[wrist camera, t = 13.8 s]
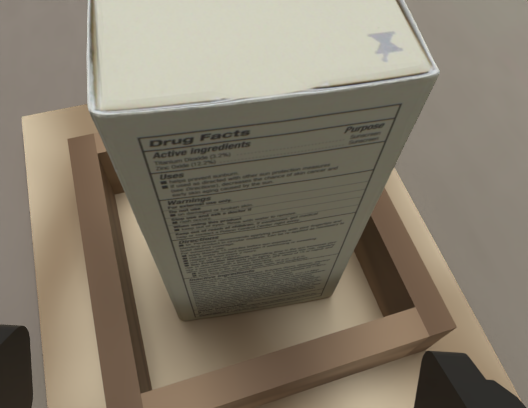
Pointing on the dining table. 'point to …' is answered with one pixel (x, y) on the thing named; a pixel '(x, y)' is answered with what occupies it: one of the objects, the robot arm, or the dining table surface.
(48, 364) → the carrier plate
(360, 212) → the skincare box
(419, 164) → the dining table surface
